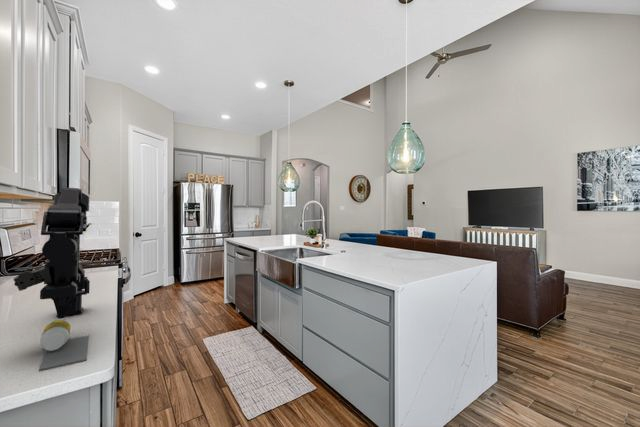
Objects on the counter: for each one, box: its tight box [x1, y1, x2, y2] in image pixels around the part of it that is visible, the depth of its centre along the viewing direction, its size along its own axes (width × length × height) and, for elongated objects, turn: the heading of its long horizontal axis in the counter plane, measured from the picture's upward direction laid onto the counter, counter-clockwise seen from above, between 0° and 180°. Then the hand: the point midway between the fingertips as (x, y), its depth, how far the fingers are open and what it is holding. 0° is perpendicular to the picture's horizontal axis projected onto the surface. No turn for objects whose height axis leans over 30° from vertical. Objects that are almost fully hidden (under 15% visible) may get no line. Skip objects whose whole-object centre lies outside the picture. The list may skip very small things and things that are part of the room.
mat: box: [38, 335, 90, 372], centre depth 70 cm, size 16×8×1 cm, turn 38°
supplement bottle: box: [39, 319, 72, 351], centre depth 73 cm, size 5×5×10 cm
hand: (61, 317), depth 73 cm, fingers closed
